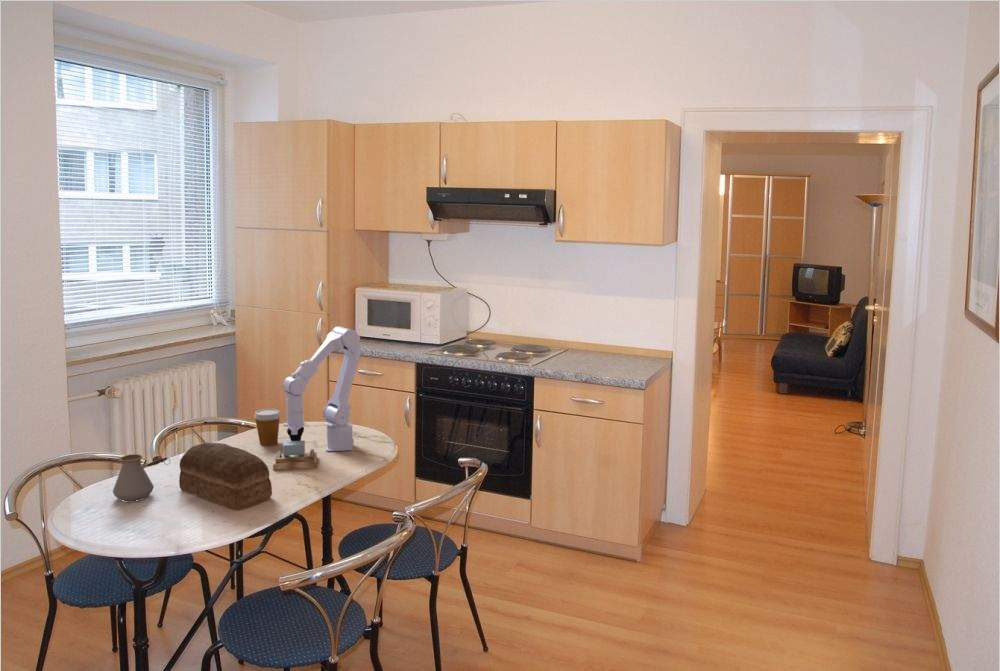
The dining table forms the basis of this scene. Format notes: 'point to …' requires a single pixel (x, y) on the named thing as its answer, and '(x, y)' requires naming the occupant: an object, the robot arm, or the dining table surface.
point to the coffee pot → (133, 478)
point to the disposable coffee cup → (267, 426)
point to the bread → (225, 475)
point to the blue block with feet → (293, 448)
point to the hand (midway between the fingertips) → (296, 448)
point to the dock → (295, 461)
